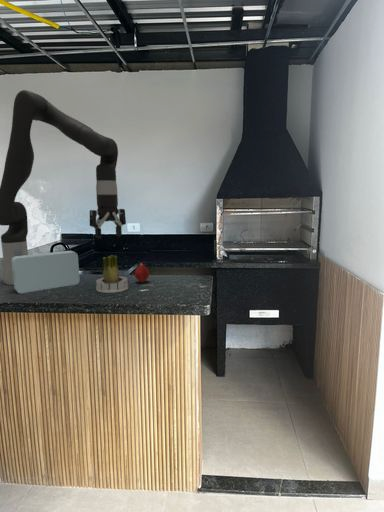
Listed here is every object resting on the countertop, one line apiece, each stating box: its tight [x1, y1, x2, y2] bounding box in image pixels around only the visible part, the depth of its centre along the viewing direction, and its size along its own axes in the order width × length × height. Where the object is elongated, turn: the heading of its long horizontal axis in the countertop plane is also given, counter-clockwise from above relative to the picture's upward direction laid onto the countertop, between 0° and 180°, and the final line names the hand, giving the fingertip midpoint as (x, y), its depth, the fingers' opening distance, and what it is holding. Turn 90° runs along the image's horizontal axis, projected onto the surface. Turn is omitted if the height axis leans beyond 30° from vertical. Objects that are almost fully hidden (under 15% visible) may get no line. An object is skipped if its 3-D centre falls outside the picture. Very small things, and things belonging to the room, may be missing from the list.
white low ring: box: [95, 275, 129, 294], centre depth 131 cm, size 12×12×4 cm
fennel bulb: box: [102, 254, 120, 283], centre depth 130 cm, size 6×5×12 cm
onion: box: [134, 263, 150, 283], centre depth 139 cm, size 6×6×8 cm
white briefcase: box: [11, 250, 81, 294], centre depth 133 cm, size 23×6×13 cm, turn 126°
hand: (109, 237), depth 128 cm, fingers open, 8 cm apart
